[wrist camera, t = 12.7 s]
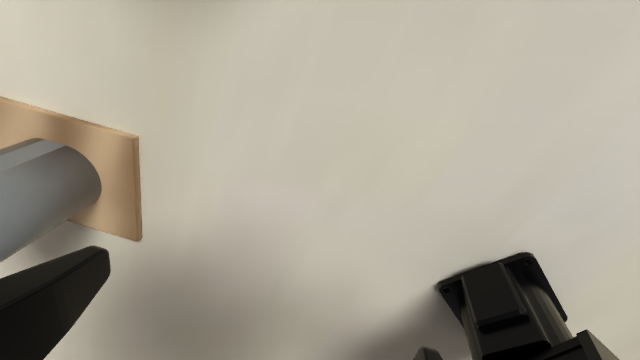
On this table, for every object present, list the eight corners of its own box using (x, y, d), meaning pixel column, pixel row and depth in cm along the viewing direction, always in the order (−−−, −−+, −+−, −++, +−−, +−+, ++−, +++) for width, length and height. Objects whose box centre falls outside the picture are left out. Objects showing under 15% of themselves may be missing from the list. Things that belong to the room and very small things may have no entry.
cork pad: (137, 136, 23) (132, 139, 22) (141, 237, 27) (137, 241, 26) (-21, 90, 23) (-30, 92, 23) (7, 196, 27) (0, 200, 27)
